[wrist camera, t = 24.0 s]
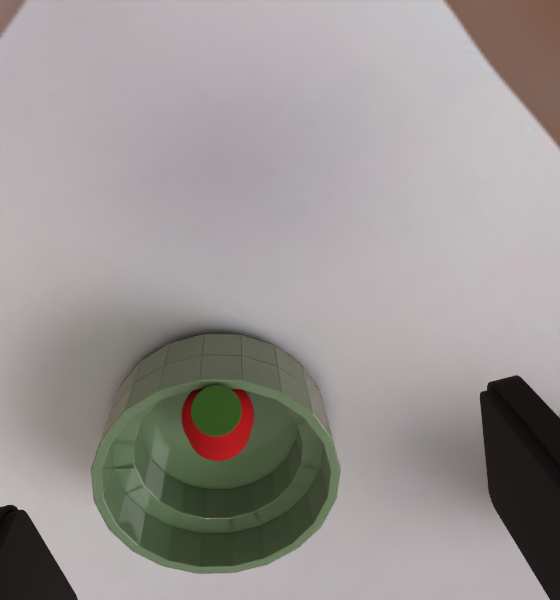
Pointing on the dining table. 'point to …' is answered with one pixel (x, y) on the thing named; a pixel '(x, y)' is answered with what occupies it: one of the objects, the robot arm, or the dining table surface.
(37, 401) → the dining table surface
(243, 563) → the fruit bowl
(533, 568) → the robot arm
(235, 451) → the red ball green cap
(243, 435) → the strawberry
